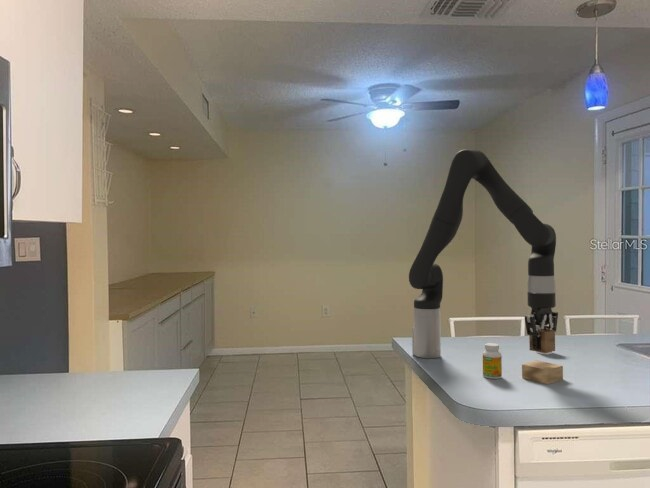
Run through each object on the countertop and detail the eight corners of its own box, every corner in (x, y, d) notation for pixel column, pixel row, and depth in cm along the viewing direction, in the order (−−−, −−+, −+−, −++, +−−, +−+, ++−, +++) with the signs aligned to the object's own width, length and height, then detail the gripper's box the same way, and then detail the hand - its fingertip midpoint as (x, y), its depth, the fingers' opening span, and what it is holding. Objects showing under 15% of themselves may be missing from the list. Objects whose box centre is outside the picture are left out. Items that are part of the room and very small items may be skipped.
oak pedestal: (522, 377, 140) (521, 364, 140) (537, 373, 144) (537, 360, 144) (547, 384, 133) (547, 370, 133) (562, 379, 138) (562, 365, 138)
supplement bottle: (482, 378, 140) (481, 345, 140) (483, 373, 145) (483, 342, 145) (501, 380, 138) (501, 347, 138) (502, 375, 143) (501, 343, 143)
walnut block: (529, 350, 139) (529, 329, 139) (539, 347, 142) (538, 328, 142) (545, 353, 135) (545, 332, 135) (555, 350, 138) (554, 330, 138)
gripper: (542, 288, 146) (543, 343, 146) (515, 291, 138) (516, 349, 138) (566, 290, 140) (567, 347, 140) (539, 293, 132) (540, 354, 132)
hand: (542, 348), depth 139 cm, fingers closed on walnut block, 5 cm apart
